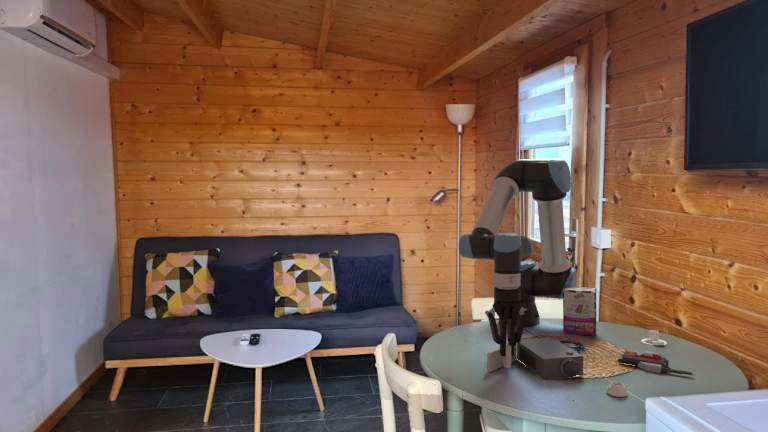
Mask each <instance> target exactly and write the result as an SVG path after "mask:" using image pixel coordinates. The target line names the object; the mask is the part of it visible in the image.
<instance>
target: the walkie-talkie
mask: <svg viewBox="0 0 768 432" xmlns="http://www.w3.org/2000/svg"><path fill="white" fill-rule="evenodd" d="M617 362H618V363H619V364H620V363H621V364H622V363H626V364H632V365H635V366H637V367H636V368H638V369H640V370H643V371H644V372H645V371H646V372H651V373H657V374H661V373H672V374H678V375H687V376H688V375H689V376H693V372H691V371H684V370H679V369H674V368H668V367H669V359H667V357H665V356H662V354H661V353H659V352H656V351H655V352H653V351H650V350H649V351H648V350H645V351H643V352H638V350H637V349H635V350H634V351H628V350H626V351H623V354H622V355H621V358H618V359H617Z"/></svg>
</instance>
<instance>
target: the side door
mask: <svg viewBox="0 0 768 432" xmlns="http://www.w3.org/2000/svg"><path fill="white" fill-rule="evenodd" d="M515 359H516V360H517V344H516V345H515V346H514V355H513V356H511V363H513V362H514V361H516V360H515ZM502 367H504V366H503V356H501V355H500V347H496V348H495V349H493V350H490V351H488V352H487V353H486V372H490V373H491V372H493V371H495V370H498V369H500V368H502Z"/></svg>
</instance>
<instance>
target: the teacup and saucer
mask: <svg viewBox="0 0 768 432" xmlns="http://www.w3.org/2000/svg"><path fill="white" fill-rule="evenodd" d="M659 338H660V332H659V330H656V329H655V330H654V329H651V330H648V338H642V339H641V340H640V341H641V343H643V344H645V345H650V346H659V347H660V346H666V345H668V342H667V341H666V340H663V339H659ZM648 340H649V342H650V343H648V342H646V341H648Z"/></svg>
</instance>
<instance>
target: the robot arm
mask: <svg viewBox="0 0 768 432" xmlns="http://www.w3.org/2000/svg"><path fill="white" fill-rule="evenodd" d="M571 175H572V174H571V170H570V166H569V165H568V163H567V161H566V160H565V159H562V158H553V157H550V158H530V159H529V158H523V159H518V160H514V161H513V162H510V163H508V164H507V165H506V166H504V168H502V169H501V170H500V171H499V172H498V173H497V175H496V176H495V177H494V179H493V181H492V184H491V192H490V194H489V196H488V198H487V200H486V203H485V204H484V206H483V209H482V211H481V213H480V215H479V217H478V220H477V221H476V223H475V225H474V227H473V230H472V231H471V233H467V234H466V233H465V234H462V235H461V236H460V238H459V241H458V252H459V255H460V256H461V257H462V258H467V259H471V260H472V259H473V260H474V259H475V260H490V261H493V265H494V266H493V267H494V269H493V285H494V287H493V304H492V308H490V309H489V310H485V312H484V314H485V316H486V317H487V318H488V323H489V327H490V331H491V335H492V340H493V342H494V343H495V344H497V345H499V348H500V355H501V356H503V366H502V367H504V368H505V369H512V362H511V356H513V355H514V346H515V345H516V346H517V343H519V342H520V341H521V340H522V337H523V334H524V333H523V332H524V328H525V327H530V326H531V327H532V326H536V325H539V324H540V322H541V321H540V319H541V317H540V314H539V310H538V307H537V304H536V298H537V297H538V298H546V299H547V298H548V299H558V300H563V289H564V286H567V287H576V283H577V276H578V275H577V274H578V271H577V269H576V268H574V267H572V263H571V261H570V260H568V259H567V251H566V248H567V247H566V236H565V234H566V233H565V219H564V208H563V207H564V206H563V205H564V204H563V200H564V199H565V198H566V197H567V193H568V192H570V190H571V187H572V182H571V181H572V176H571ZM523 192H524V193H531V195H532V196H531V197H532V199H533V200H534V201H536V203H537V215H538V225H539V226H538V227H539V236H540V237H539V238H540V239H539V240H540V249H541V250H540V251H541V259H542V260H541V261H539V263H538V265H537V264H536V262H535V261H533V260H528V259H530V257H531V256H532V255H533V253H534V248H535V247H534V243H533V241H532V239H530V238H529V237H528V236H525V235H521V234H519V233H515V232H499V231H500V228H501V226H502V223H503V221H504V219H505V217H506V215H507V212H508V209H509V208H510V205H511V203H512V201H513V199H515V198H516V197H517V196H518V195H519V193H523ZM498 232H499V233H498ZM496 315H497V316H498V322H499V326H498V325H497V319H496V318H495V316H496ZM498 327H499V330H498Z"/></svg>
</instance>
